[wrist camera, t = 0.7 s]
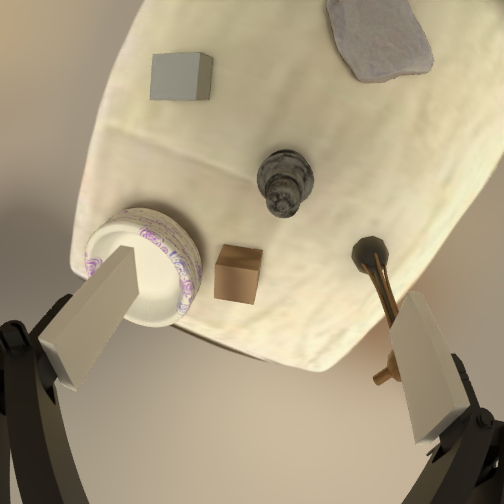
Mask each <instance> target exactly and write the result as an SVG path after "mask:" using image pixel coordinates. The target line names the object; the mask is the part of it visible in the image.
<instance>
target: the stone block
mask: <svg viewBox="0 0 504 504" xmlns="http://www.w3.org/2000/svg"><path fill="white" fill-rule="evenodd" d="M326 8H327V11H328V14H329V17H330V20H331V27H332V29H333V32H334V39H335V41H336V45H337V49H338V51H339V53H340V54H341V56H342V58H343V60H344V61H345V63H346V64H347V65H348V66H349V67H350V68H351V70H352V71H353V73H354V75H355V77H356V78H357V79H358V80H359V81H361V82H364V83H382V82H386V81H388V80H390V79H395V78H396V77H398V76H400V75H408V74H418V75H419V74H423V73H428V72H429V71H430V70H431V68H432V66H433V62H434V59H433V55H432V51H431V47H430V45H429V42H428V40H427V38H426V35H425V33H424V31H423V30H422V28H421V26H420V24H419V23H418V21H417V19H416V18H415V16H414V14H413V12H412V10H411V7H410V5H409V3H408V1H407V0H327V1H326Z"/></svg>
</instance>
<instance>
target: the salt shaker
mask: <svg viewBox="0 0 504 504" xmlns="http://www.w3.org/2000/svg"><path fill="white" fill-rule="evenodd" d="M313 183H314V177H313V172H312V170H311V168H310V166H309V165H308V163H307V162H306V160H305V159H304V158H303V157H302V156H301V155H300V154H298V153H297V152H294V151H292V150H280V151H277V152H275V153H273V154H272V155H270V156H269V157H268V158H267V159H266V160H265V161H264V162H263V163H262V165H261V166H260V168H259V171H258V174H257V184H258V188H259V190H260V192H261V194H262V196H263V197H264V198H265V199H266V203H267V207H268V209H269V211H270V212H271V213H272V214H273V215H275V216H276V217H279V218H289V217H291V216H293V215H294V214H295V213H296V212H297V211H298V209H299V206H300V203H302V202H303V201H304V200H305V199H307V197H308V196H309V195H310V193H311V191H312V188H313Z"/></svg>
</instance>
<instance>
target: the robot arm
mask: <svg viewBox="0 0 504 504" xmlns="http://www.w3.org/2000/svg"><path fill="white" fill-rule="evenodd" d="M138 295H139V288H138V280H137V272H136V262H135V252H134V247H128V246H123V245H120V246H119V247H118V248H117V249H116V250H115V251H114V252H113V253H112V254H111V255H110V256H109V257H108V258H107V259H106V260H105V261H104V263H103V264H102V265H101V266H100V267H99V268H98V269H97V270H96V271H95V272H94V273H93V274H92V275H91V276H90V277H89V279H88V280H87V281H86V282H85V283H84V284H83V285H82V286H81V287H80V289H79V290H78V291H77V292H76V293H75V294H74V295H71V294H67V295H65V296H64V297H62V298H60V299H59V300H58V301H57V302H56V303H55V304H54V305H53V306H52V309H50V310H49V311H48V312H47V314H46V315H45V316H44V317H43V318H42V319H41V320H40V322H39V323H38V324H37V325H36V326H35V327H34V328H33V330H32V331H31V332H30V333H29V334H28V332H27V330H26V328H25V325H24V324H23V323H22V322H21V321H18V320H11V321H8V322H6V323H4V324H3V325H2V326H0V504H10V448H11V454H12V460H13V465H14V470H15V475H16V479H17V484H18V488H19V491H20V495H21V499H22V502H23V504H89V502H88V499H87V497H86V494H85V492H84V489H83V486H82V484H81V481H80V478H79V475H78V472H77V469H76V466H75V463H74V460H73V457H72V453H71V450H70V447H69V443H68V440H67V436H66V432H65V428H64V424H63V420H62V415H61V411H60V406H59V401H58V396H57V391H56V387H55V384H54V381H55V380H56V378H57V377H58V379H59V380H60V382H61V384H62V386H65V387H67V388H69V389H71V390H74V391H76V392H78V390H79V388H80V386H81V385H82V383H83V381H84V380H85V378H86V376H87V375H88V373H89V371H90V370H91V368H92V366H93V365H94V363H95V361H96V360H97V358H98V356H99V355H100V353H101V351H102V350H103V348H104V347H105V345H106V344H107V342H108V340H109V339H110V337H111V336H112V334H113V333H114V331H115V329H116V328H117V326H118V324H119V323H120V322H121V320H122V319H123V317H124V316H125V314H126V313H127V311H128V310H129V308H130V307H131V305H132V304H133V302H134V301H135V299H136V298H137V296H138ZM389 337H390V340H391V343H392V347H393V350H394V354H395V358H396V361H397V365H398V369H399V372H400V376H401V380H402V384H403V388H404V392H405V396H406V400H407V405H408V410H409V414H410V419H411V424H412V428H413V434H414V439H415V445H419V444H427V443H431V442H432V441H434V440H435V439H436V438H437V437H438V436H439V438H440V443H439V444H438V445H436V446H435V447H434V448H433V449H432V450H431V451H429V452H428V454H427V456H429V455H430V454H431V453H432V456H431V457H430V459H429V461H428V462H427V464H426V466H425V468H424V470H423V471H422V473H421V474H420V476H419V478H418V480H417V481H416V483H415V484H414V486H413V487H412V489H411V491H410V492H409V493H408V495H407V496H406V498H405V499H404V501H403V502H402V504H504V422H502V421H497V420H494V417H493V415H492V414H491V412H489V411H488V410H487V409H485V408H480V406H479V403H478V401H477V398H476V395H475V392H474V390H473V387H472V385H471V382H470V381H469V377H468V375H467V373H466V370H465V367H464V365H463V363H462V361H461V360H460V359H459V358H458V357H457V355H456V354H450V351H449V349H448V347H447V345H446V342H445V340H444V338H443V336H442V333H441V331H440V329H439V327H438V325H437V323H436V321H435V318H434V317H433V315H432V312H431V310H430V308H429V306H428V304H427V302H426V300H425V299H424V296H423V294H422V293H421V292H414V291H408V293H407V295H406V298H405V300H404V302H403V304H402V306H401V308H400V310H399V313H398V315H397V317H396V319H395V321H394V323H393V325H392V327H391V329H390V331H389ZM498 460H499V461H498ZM497 461H498V467H496V462H497Z"/></svg>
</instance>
